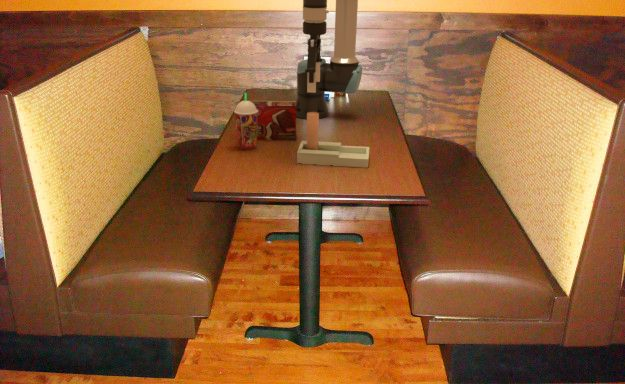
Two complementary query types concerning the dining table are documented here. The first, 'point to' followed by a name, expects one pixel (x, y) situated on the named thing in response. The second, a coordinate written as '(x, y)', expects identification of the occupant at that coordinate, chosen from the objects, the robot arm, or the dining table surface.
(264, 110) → the ice cream box
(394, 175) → the dining table surface
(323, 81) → the robot arm
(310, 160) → the slot board
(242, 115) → the smoothie
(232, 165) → the dining table surface
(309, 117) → the peg
